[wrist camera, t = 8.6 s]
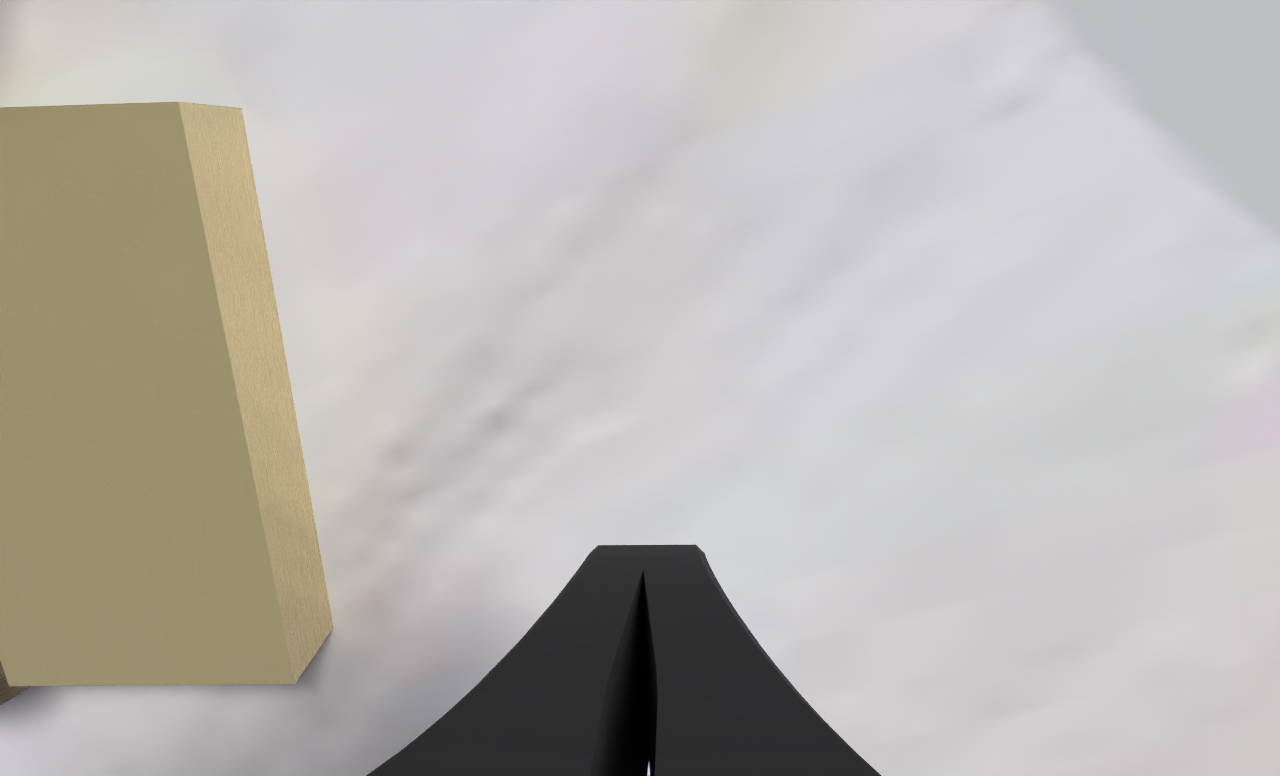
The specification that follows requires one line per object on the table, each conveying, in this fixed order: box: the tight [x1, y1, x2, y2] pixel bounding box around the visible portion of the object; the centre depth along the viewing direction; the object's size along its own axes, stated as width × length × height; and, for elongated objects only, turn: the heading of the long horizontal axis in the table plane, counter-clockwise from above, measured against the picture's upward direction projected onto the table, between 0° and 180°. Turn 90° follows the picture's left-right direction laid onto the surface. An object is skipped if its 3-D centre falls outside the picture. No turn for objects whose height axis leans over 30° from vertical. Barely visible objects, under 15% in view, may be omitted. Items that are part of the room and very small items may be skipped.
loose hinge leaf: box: [0, 102, 333, 686], centre depth 17 cm, size 13×10×3 cm
